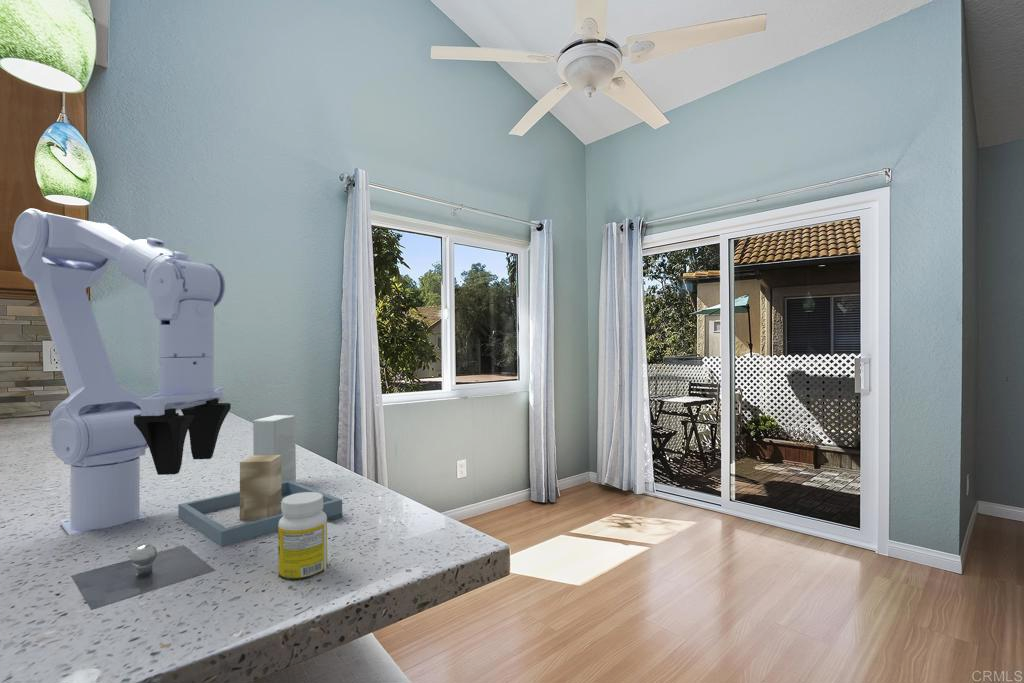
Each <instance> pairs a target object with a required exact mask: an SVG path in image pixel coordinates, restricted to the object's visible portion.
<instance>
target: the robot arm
mask: <svg viewBox="0 0 1024 683" xmlns="http://www.w3.org/2000/svg"><path fill="white" fill-rule="evenodd" d="M11 243H12V245H13V249H14V252H15V254H16V255H15V256H16V258H17V259H16V260H17V261H18V265H19V266H20V269H21V272H22V275H23V276H24V277H26V278H27V279H29V280H30V281H31V282H32V283H33V285H34V289H35V291H36V295H37V298H38V301H39V304H40V308H41V311H42V314H43V316H44V320H45V323H46V326H47V329H48V331H49V332H48V333H49V335H50V338H51V342H52V344H53V347H54V350H55V353H56V358H57V359H58V363H59V366H60V370H61V372H62V375H63V379H64V381H65V385H66V387H67V390H68V394H69V396H68V397H66V398H65V399H64V400H63V401H62V402H60V403H58V405H57V406H56V407H55V408H54V409H53V410H52V412H51V414H50V415H49V422H50V425H51V426H50V427H51V434H50V436H51V437H50V439H51V440H50V444H51V447H52V450H53V453H54V454H55V456H56V457H57V458H58V459H59V460H61V462H62V463H64V464H63V465H68V466H70V479H69V482H70V483H69V490H70V491H69V500H70V501H69V518H65V519H64V518H63V519H61V520H60V522H59V523H60V525H61V527H62V528H63V529H64V531H65V532H66V534H67V535H69V536H70V535H74V534H79V533H83V532H87V531H92V530H100V529H106V528H110V527H115V526H119V525H122V524H123V525H124V524H126V523H129V522H131V521H133V522H134V521H137V520H140V519H145V518H146V519H147V516H146V515H144V514H143V513H142V512H140V504H141V502H140V492H141V491H140V490H141V489H140V484H141V483H140V479H141V478H140V476H141V474H140V473H141V472H140V471H141V470H140V469H141V467H140V464H141V462H140V461H141V460H140V459H141V458H140V457H141V456H145V455H146V450H147V449H149V452H150V455H151V458H152V461H153V464H154V467H155V471H156V473H157V475H158V476H161V475H162V476H163V475H164V476H165V475H168V476H169V475H170V476H171V475H177V474H180V471H181V468H182V464H183V455H184V454H183V453H184V446H185V440H186V437H187V433H189V444H190V452H191V456H192V459H193V460H210V459H212V458H213V456H214V453H215V449H216V445H217V441H218V437H219V433H220V431H221V428H222V425H223V423H224V421H225V418H226V417H227V415H228V414H229V413H230V411H231V406H232V405H231V404H232V403H231V402H223V401H224V387H223V386H217V387H214V386H215V385H214V384H215V380H214V374H215V372H214V370H215V368H214V365H215V364H214V363H215V361H214V360H215V358H214V356H215V355H214V354H215V353H214V349H215V345H214V344H215V340H214V338H215V337H214V336H215V334H214V332H215V331H214V330H215V307H216V306H218V305H219V304H220V303H221V301H222V300H223V299H224V295H225V291H226V281H225V276H224V275H223V272H222V271H221V270H220V269H219V268H218V267H216V266H215V265H214V264H213V263H208V262H207V263H206V262H204V263H200V262H193V261H191V259H188V257H189V256H188V254H186V253H184V252H182V251H178V250H175V251H173V250H171V249H168V248H167V247H165V244H166V242H165V241H163V240H161V239H159V238H153V237H147V238H146V239H142V238H140V239H135V240H133V239H131V238H130V237H128V236H126V235H125V234H123V233H121V232H120V231H119V230H118V228H117V226H114V225H113V226H112V225H109V224H108V223H105V222H96V221H89V220H85V219H80V218H75V217H69V216H64V215H61V214H56V213H52V212H45V211H42V210H40V209H37V208H28V209H25V210H24V211H23V212H22V213H20V214H19V215H18V217H17V218H16V220H15V222H14V226H13V232H12V237H11ZM111 262H115V263H116V265H117V268H118V270H119V272H120V274H121V275H122V276H123V277H124V278H127V279H128V280H130V281H132V282H134V283H135V284H137V285H138V286H141V287H143V288H144V289H146V290H147V294H148V296H149V298H150V300H151V301H152V305H153V315H154V317H155V319H156V320H159V321H158V325H159V326H158V327H159V328H158V334H159V335H158V393H156V394H152V395H151V396H148V397H143V398H142V397H141V395H140V394H138V393H136V392H134V391H131V390H129V389H127V388H125V387H123V386H121V385H119V384H118V382H117V379H116V376H115V372H114V370H113V367H112V364H111V361H110V358H109V355H108V353H107V350H106V346H105V344H104V341H103V338H102V335H101V331H100V329H99V326H98V324H97V321H96V318H95V314H94V311H93V308H92V306H91V303H90V300H89V297H88V294H87V291H86V290H87V288H89V287H92V286H94V285H98V284H99V283H100V282H101V280H102V279H103V277H104V275H105V273H106V272H107V270H108V268H109V266H110V264H111ZM179 410H180V411H181V413H182V414H181V415H180V413H179V412H177V411H179Z"/></svg>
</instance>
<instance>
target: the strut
mask: <svg viewBox="0 0 1024 683" xmlns="http://www.w3.org/2000/svg"><path fill="white" fill-rule="evenodd" d="M239 491H240V505H239V521H256V520H259V519H263V518H267V517H271V516H275V515H278V514H279V512H280V511H281V510H282V501H281V455H253V454H252V455H251V456H249V457H247V458H245V459H243V460H241V461H239Z"/></svg>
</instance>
